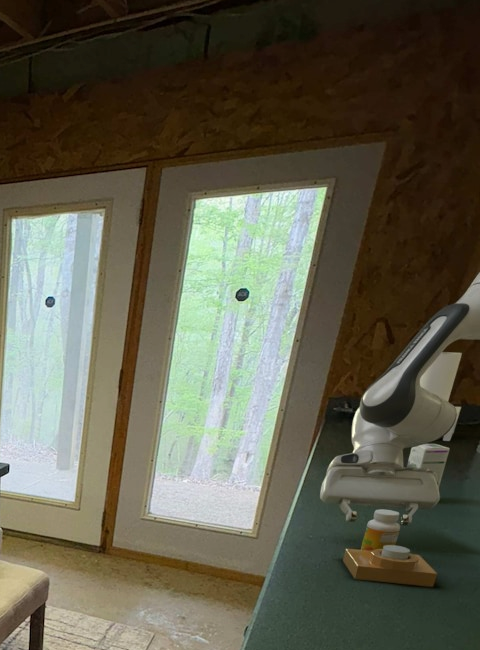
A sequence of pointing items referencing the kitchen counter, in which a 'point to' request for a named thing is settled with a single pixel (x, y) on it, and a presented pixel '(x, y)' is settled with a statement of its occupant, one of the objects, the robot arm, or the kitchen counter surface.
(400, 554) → the grey button cap
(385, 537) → the supplement bottle
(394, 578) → the button base
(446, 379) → the white toy chair
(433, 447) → the syrup box
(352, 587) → the kitchen counter surface
